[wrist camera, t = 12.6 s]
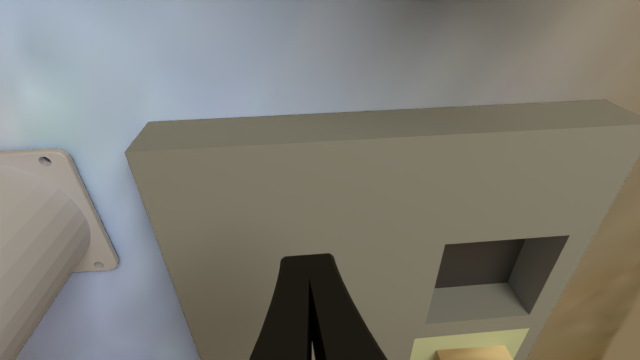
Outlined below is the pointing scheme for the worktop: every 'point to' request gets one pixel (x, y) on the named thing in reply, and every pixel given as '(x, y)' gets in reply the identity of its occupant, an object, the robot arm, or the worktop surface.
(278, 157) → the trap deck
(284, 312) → the robot arm
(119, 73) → the worktop surface
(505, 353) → the maple block
